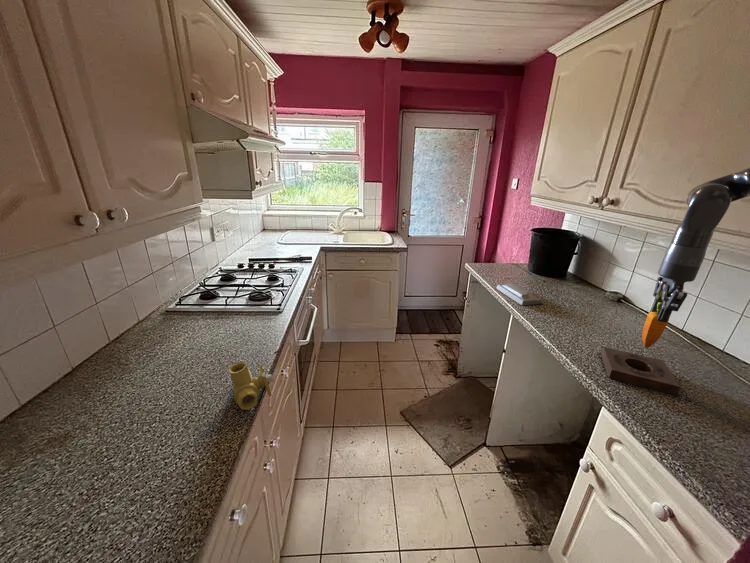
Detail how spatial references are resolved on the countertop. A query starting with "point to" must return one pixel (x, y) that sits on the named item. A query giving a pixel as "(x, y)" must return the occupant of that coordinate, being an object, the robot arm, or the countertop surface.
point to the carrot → (653, 328)
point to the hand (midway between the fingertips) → (658, 317)
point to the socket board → (651, 370)
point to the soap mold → (518, 294)
